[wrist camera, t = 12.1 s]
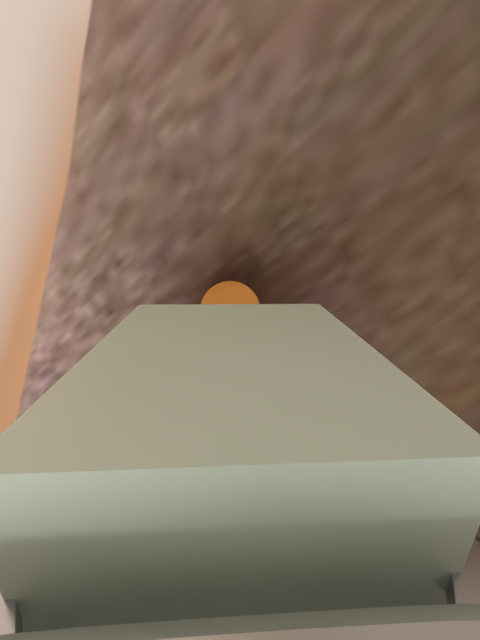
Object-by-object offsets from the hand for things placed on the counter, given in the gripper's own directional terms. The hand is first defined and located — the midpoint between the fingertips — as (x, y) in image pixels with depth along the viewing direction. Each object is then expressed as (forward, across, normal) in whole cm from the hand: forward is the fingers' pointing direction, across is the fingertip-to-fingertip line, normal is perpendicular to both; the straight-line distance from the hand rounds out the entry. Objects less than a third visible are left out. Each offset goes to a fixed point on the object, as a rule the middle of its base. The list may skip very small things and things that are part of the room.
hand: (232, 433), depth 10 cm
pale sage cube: (+3, 0, 0) cm, 3 cm away
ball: (+14, 0, 0) cm, 14 cm away
